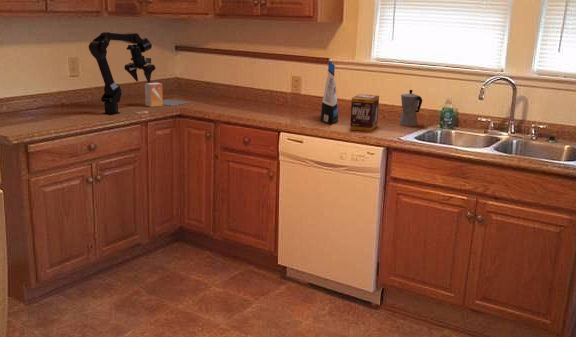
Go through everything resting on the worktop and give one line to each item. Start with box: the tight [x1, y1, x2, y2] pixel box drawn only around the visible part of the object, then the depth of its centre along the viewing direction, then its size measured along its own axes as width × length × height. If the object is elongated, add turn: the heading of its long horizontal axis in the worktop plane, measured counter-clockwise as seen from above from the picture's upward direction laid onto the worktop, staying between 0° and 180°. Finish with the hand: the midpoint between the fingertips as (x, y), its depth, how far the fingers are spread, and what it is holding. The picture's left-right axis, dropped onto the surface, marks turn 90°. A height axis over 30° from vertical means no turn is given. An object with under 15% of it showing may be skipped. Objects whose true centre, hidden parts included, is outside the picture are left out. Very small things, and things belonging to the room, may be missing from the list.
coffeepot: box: [398, 89, 423, 127], centre depth 304 cm, size 15×9×18 cm, turn 28°
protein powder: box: [320, 60, 339, 125], centre depth 311 cm, size 10×24×30 cm, turn 3°
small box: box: [144, 82, 164, 108], centre depth 347 cm, size 8×6×13 cm
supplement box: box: [349, 93, 380, 132], centre depth 296 cm, size 10×15×16 cm
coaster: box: [134, 110, 148, 115], centre depth 326 cm, size 7×7×1 cm
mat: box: [163, 98, 190, 107], centre depth 360 cm, size 16×18×1 cm
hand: (143, 81), depth 339 cm, fingers open, 9 cm apart
